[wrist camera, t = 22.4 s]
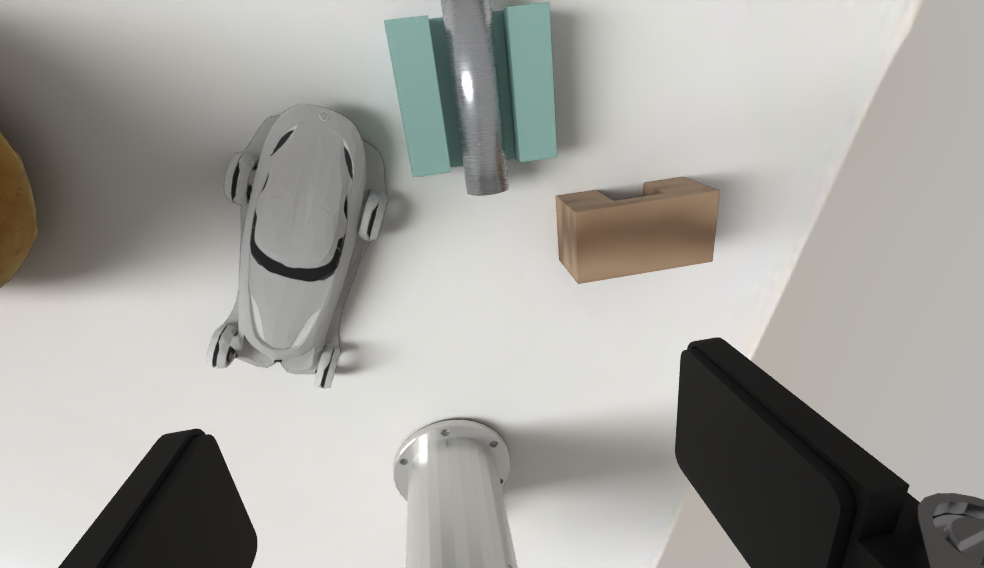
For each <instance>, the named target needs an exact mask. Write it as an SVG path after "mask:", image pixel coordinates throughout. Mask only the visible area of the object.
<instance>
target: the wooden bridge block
mask: <svg viewBox="0 0 984 568" xmlns="http://www.w3.org/2000/svg"><path fill="white" fill-rule="evenodd" d="M719 192H720V190H717V189H714V188H712V187H709V186H706V185H703V184H701V183H698V182H695V181H692V180H690V179H687V178H684V177H679V178H672V179H666V180H659V181H652V182H646V183H644V196H642V197H636V198H629V199H622V200H616V201H613V200H611V199H610V198H608V197H606V196H605V195H603V194H602V193H600V192H598V191H597V190H592V191H585V192H578V193H572V194H565V195H558V196H556V210H557V229H558V248H559V260H560V262H561V263H562V264H563V265H564V267H565V268H566V269H567V271H568V272H569V273H570V274H571V276H572V277H573V278H574V279H575V281H576V282H577V283H578V284H581V283H587V282H593V281H599V280H605V279H611V278H617V277H623V276H629V275H635V274H641V273H647V272H653V271H659V270H665V269H671V268H677V267H683V266H689V265H694V264H700V263H706V262H712V261H713V252H714V242H715V232H716V222H717V212H718V202H719Z"/></svg>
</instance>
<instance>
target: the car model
mask: <svg viewBox="0 0 984 568" xmlns="http://www.w3.org/2000/svg"><path fill="white" fill-rule="evenodd" d="M370 189H371V192H370ZM224 193H225V196H226V198H227V199H229V200H230V201H232V202H233V203H236V204H238V205H241V246H240V266H239V289H238V294H237V299H236V303H235V305H234V308H233V310H232V312H231V314H230V315H229V317H228V319H227V320H226V321H225V322H224V324H222V325H220V327H219V328H218V329H217V330H216V331H215V332H214V335H213V337H212V339H211V342H210V344H209V347H208V351H207V357H206V362H207V364H208V365H210V366H212V367H213V368H214V367H215V368H227V367H228V366H229V365H230V364H231V362H232V361H233V360H234V358H237V359H240V360H242V361H245V362H247V363H249V364H252V365H254V366H257V367H264V368H268V367H269V366H271V365H272V364H274V363H275V362H276V361H278V362H280V363H281V365H282V366H283V368H284V369H285V370H286V371H287V372H290V373H294V374H316V377H315V381H314V385H316V386H317V387H320V388H330V387H331V383H332V380H333V376H334V372H335V369H336V364H337V361H338V357H339V354H340V348H339V341H338V331H339V322H340V317H341V313H342V309H343V306H344V304H345V301H346V298H347V295H348V292H349V290H350V287H351V284H352V282H353V279H354V276H355V274H356V271H357V268H358V266H359V263H360V261H361V259H362V257H363V255H364V253H365V251H366V249H367V247H368V245H369V243H370V241H374V240H377V237H378V233H379V229H380V226H381V222H382V218H383V215H384V211H385V207H386V204H387V200H388V198H387V196H386V191H385V179H384V165H383V161H382V158H381V156H380V154H379V152H378V151H377V150H376V149H375V148H374V147H373V146H371V145H370V144H368V143H366V142H365V141H363V140H362V139H361V136H360V134H359V132H358V130H357V128H356V127H355V125H354V124H353V123H352V121H350V120H349V119H348V118H346V117H344V116H343V115H341V114H339V113H337V112H335V111H333V110H330V109H327V108H324V107H321V106H317V105H310V104H298V105H295V106H293V107H290V108H289V109H288V110H286V111H285V112H284V113H282V115H281V116H280V115H277V116H272V117H270V118H268V119H266V120H265V121H264V122H263V124H262V125H261V126H260V128H259V129H258V131H257V133H256V134H255V136H254V138H253V139H252V141H251V142H250V144H249V145H248V147H247V148H246V149H245V150H244V151H243V152H240V153H236V154H235V155H234V157H233V158H232V159H231V161H230V163H229V166H228V168H227V172H226V175H225V182H224Z"/></svg>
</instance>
